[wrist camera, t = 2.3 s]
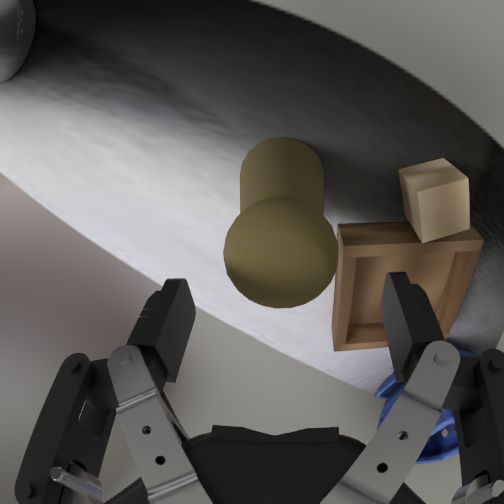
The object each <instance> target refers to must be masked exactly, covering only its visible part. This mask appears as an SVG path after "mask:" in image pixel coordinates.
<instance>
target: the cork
mask: <svg viewBox="0 0 504 504" xmlns="http://www.w3.org/2000/svg"><path fill="white" fill-rule="evenodd" d="M323 210H324V168H323V166H322V163H321V160H320V158H319V157H318V155H317V154H316V153H315V152H314V151H313V150H312V148H310V147H309V146H307V145H306V144H304V143H302V142H301V141H298V140H294V139H290V138H286V137H284V138H271V139H269V140H266V141H264V142H261V143H259V144H258V145H257V146H255V147H254V148H253V149H252V150H251V151H250V152H249V153H248V154H247V156H246V158H245V159H244V161H243V163H242V167H241V173H240V214H239V216H238V217H237V218H236V219H235V221H234V222H233V224H232V226H231V227H230V229H229V231H228V233H227V236H226V240H225V246H224V252H223V255H224V262H225V266H226V271H227V275H228V276H229V278H230V279H231V281H232V283H233V284H234V286H235V287H236V288H237V290H238V291H239V292H240V293H242V294H243V295H244V296H245V297H246V298H248V299H249V300H251V301H253V302H255V303H257V304H260V305H262V306H267V307H272V308H292V307H296V306H300V305H303V304H306V303H308V302H310V301H311V300H313V299H315V298H317V297H318V296H319V295H320V294H321V293H322V292H323V291H324V290H325V288H326V287H327V286H328V285H329V284H330V283H331V281H332V279H333V276H334V274H335V272H336V270H337V265H338V251H339V247H338V243H337V239H336V237H335V234H334V231H333V228H332V226H331V224H330V223H329V222H328V221H327V220H326V218H325V217H324V216H323Z"/></svg>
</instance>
